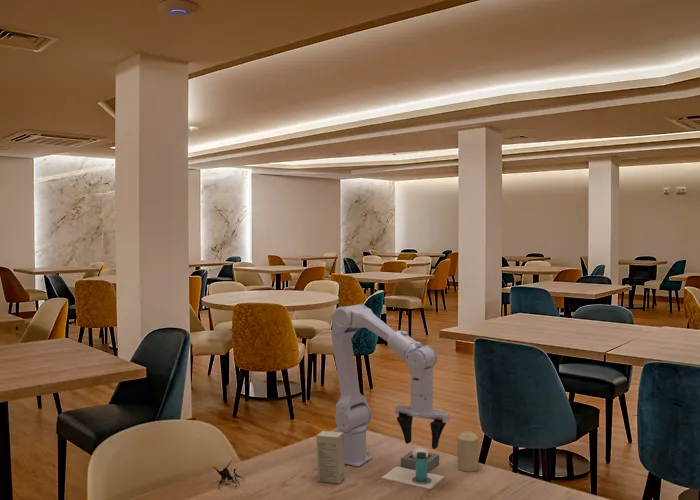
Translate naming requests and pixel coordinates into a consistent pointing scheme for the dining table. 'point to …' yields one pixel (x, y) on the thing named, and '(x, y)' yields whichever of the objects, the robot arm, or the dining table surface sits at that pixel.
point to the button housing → (411, 463)
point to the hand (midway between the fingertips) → (421, 445)
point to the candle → (468, 451)
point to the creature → (227, 475)
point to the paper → (411, 477)
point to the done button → (416, 450)
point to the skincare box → (330, 456)
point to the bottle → (421, 467)
